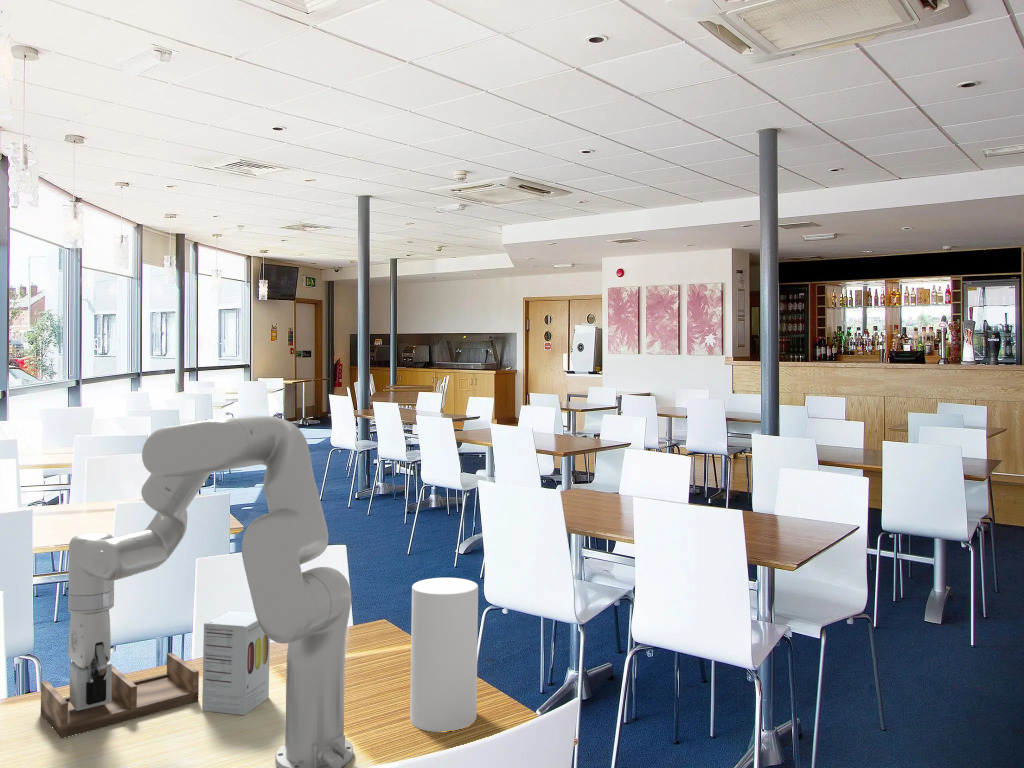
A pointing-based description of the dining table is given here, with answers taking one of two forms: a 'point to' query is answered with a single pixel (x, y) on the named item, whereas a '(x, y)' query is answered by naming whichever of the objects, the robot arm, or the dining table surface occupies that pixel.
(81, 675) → the skincare box
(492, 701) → the dining table surface
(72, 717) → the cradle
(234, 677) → the supplement box
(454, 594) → the cylinder
